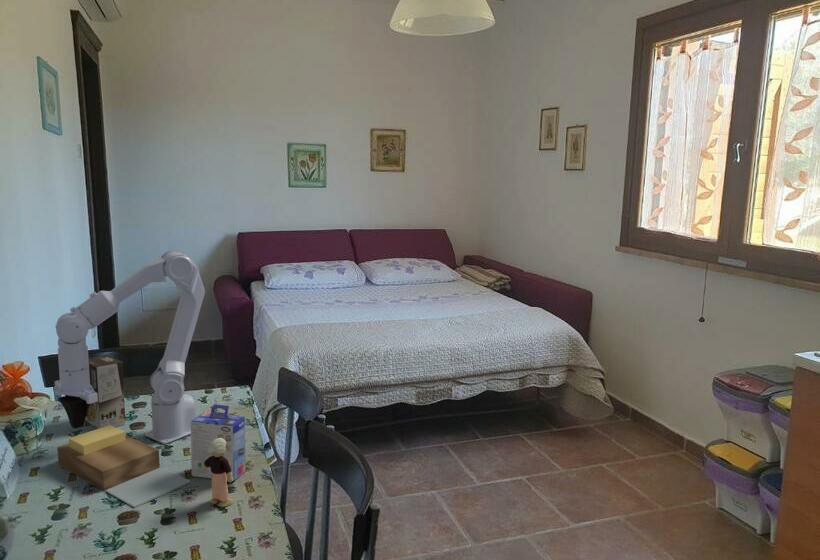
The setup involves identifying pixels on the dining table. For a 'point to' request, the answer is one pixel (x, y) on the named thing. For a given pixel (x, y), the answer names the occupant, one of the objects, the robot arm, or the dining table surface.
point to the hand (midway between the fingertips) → (77, 426)
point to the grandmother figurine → (219, 472)
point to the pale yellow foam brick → (97, 439)
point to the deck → (110, 462)
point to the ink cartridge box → (209, 430)
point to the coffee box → (106, 392)
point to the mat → (147, 487)
